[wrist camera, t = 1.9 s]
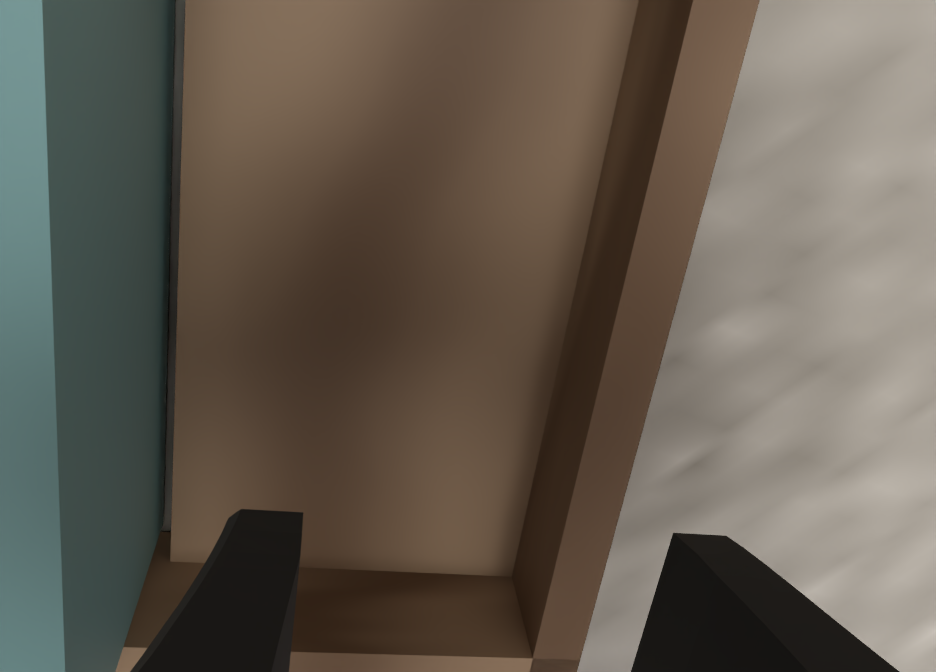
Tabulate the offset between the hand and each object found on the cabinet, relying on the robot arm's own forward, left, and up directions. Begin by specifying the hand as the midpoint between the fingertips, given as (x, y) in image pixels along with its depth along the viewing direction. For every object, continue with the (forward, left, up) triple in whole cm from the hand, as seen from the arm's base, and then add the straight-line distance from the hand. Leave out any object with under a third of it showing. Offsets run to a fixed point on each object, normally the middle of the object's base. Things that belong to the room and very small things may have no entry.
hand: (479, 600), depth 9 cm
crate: (+1, 0, -9) cm, 9 cm away
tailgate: (+6, 0, -9) cm, 11 cm away
